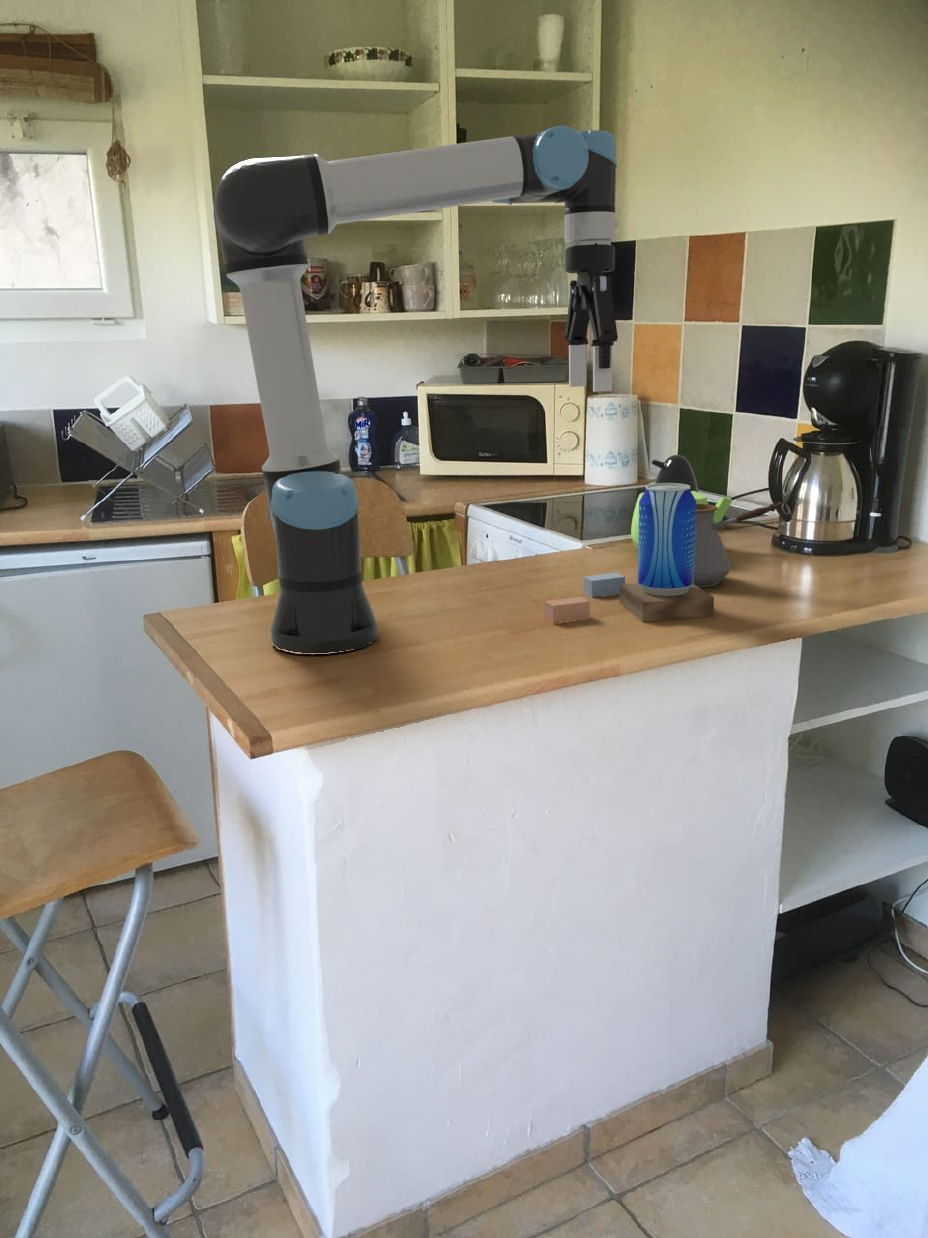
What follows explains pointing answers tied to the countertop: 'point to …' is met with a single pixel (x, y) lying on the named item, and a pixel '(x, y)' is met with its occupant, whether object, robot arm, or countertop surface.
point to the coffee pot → (716, 543)
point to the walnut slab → (666, 604)
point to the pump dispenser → (676, 472)
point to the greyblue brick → (603, 584)
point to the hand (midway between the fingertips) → (589, 388)
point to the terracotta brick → (567, 609)
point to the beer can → (666, 539)
